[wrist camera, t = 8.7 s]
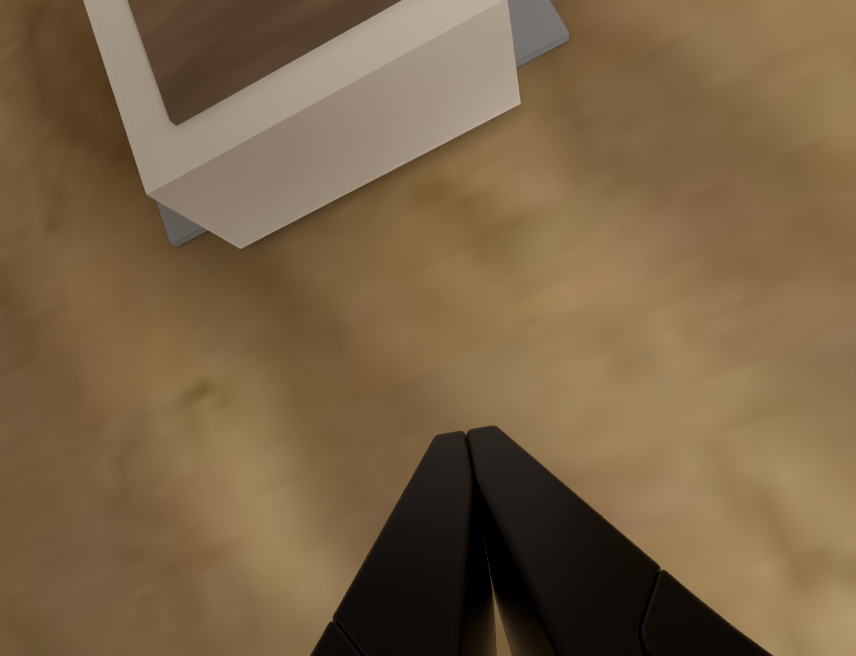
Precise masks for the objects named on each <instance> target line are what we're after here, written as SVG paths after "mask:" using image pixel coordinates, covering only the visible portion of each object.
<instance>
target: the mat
mask: <svg viewBox="0 0 856 656" xmlns="http://www.w3.org/2000/svg"><path fill="white" fill-rule="evenodd" d="M508 6H509V14H510V22H511V30H512V38H513V46H514V54H515V62H516V68H517V67H519V66H521V65H523V64H525V63H526V62H528V61H530V60H532V59H534V58H536V57H538V56H540V55H542V54H544V53H545V52H547V51H549V50H551V49H553V48H555V47H557V46H559V45H561V44H562V43H564V42H566V41H568V40H569V31H568V30H567V28H566V26H565V25H564V23H563V21H562V19H561V18H560V16H559V14H558V13H557V11H556V9H555V8H554V6H553V4H552V2H551V1H550V0H508ZM156 202H157V205H158V208H159V211H160V214H161V217H162V220H163V223H164V226H165V229H166V233H167V236H168V239H169V242H170V244H172V245H174V246H176V247H178V246H180V245H182V244H184V243H186V242H187V241H189V240H191V239H193V238H195V237H197V236H199V235H201V234H203V233H205V232H206V231H208V230H207V229H205V228H203V227H201V226H200V225H198V224H196V223H194V222H193V221H191V220H189V219H187V218H186V217H184V216H182V215H181V214H179V213H177V212H175V211H174V210H172V209H170V208H168V207H167V206H165V205H163V204H161V203H160V202H158V201H156Z"/></svg>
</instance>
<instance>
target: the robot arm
mask: <svg viewBox="0 0 856 656" xmlns="http://www.w3.org/2000/svg"><path fill="white" fill-rule="evenodd" d="M467 440H468V442H467ZM468 447H469V448H468ZM483 534H484V535H483ZM484 540H485V541H484ZM485 546H486V547H485ZM486 552H487V553H486ZM487 558H488V559H487ZM488 563H489V565H488ZM489 569H490V571H489ZM490 575H491V577H490ZM491 580H492V584H491ZM492 585H493V590H494V595H495V599H496V603H497V606H498V610H499V614H500V617H501V620H502V624H503V627H504V630H505V633H506V637H507V640H508V643H509V647H510V650H511V653H512V656H773V655H772V654H770V653H769V652H767V651H766V650H765V649H763V648H762V647H761V646H759V645H758V644H757V643H755V642H754V641H752V640H751V639H750V638H748V637H747V636H746V635H744V634H743V633H742V632H740V631H739V630H737V629H736V628H735V627H733V626H732V625H731V624H730V623H728V622H727V621H726V620H725V619H724V618H722V617H721V616H720V615H719V614H717V613H716V612H715V611H714V610H712V609H711V608H710V607H709V606H707V605H706V604H705V603H704V602H703V601H701V600H700V599H699V598H698V597H696V596H695V595H694V594H693V593H691V592H690V591H689V590H688V589H687V588H686V587H684V586H683V585H682V584H681V583H680V582H679V581H677V580H676V579H675V578H674V577H673V576H672V575H670V574H669V573H668V572H667V571H665V570H661V568H660V566H659V565H658V564H657V563H656V562H655V561H654V560H653V559H651V558H650V557H649V556H648V555H647V554H646V553H644V552H643V551H642V550H641V549H640V548H639V547H637V546H636V545H635V544H634V543H633V542H632V541H630V540H629V539H628V538H627V537H626V536H625V535H623V534H622V533H621V532H620V531H619V530H617V529H616V528H615V527H614V526H613V525H612V524H610V523H609V522H608V521H607V520H606V519H605V518H603V517H602V516H601V515H600V514H599V513H598V512H596V511H595V510H594V509H593V508H592V507H591V506H589V505H588V504H587V503H586V502H585V501H584V500H582V499H581V498H580V497H579V496H578V495H577V494H575V493H574V492H573V491H572V490H571V489H570V488H568V487H567V486H566V485H565V484H564V483H563V482H561V481H560V480H559V479H558V478H557V477H556V476H554V475H553V474H552V473H551V472H550V471H549V470H547V469H546V468H545V467H544V466H543V465H542V464H540V463H539V462H538V461H537V460H536V459H535V458H533V457H532V456H531V455H530V454H529V453H528V452H526V451H525V450H524V449H523V448H522V447H521V446H519V445H518V444H517V443H516V442H515V441H514V440H512V439H511V438H510V437H509V436H508V435H507V434H505V433H504V432H503V431H502V430H501V429H500V428H498V427H497V426H487V427H481V428H475V429H470V430H469V431H468V432H467V437H466V434H465V433H464V432H463V431H457V432H451V433H444V434H439V435H436V436H435V437H434V439H433V441H432V442H431V444H430V446H429V448H428V449H427V451H426V453H425V455H424V456H423V458H422V460H421V462H420V463H419V465H418V467H417V469H416V471H415V472H414V474H413V476H412V478H411V479H410V481H409V483H408V485H407V486H406V488H405V490H404V492H403V494H402V495H401V497H400V499H399V501H398V502H397V504H396V506H395V508H394V509H393V511H392V513H391V515H390V516H389V518H388V520H387V522H386V524H385V525H384V527H383V529H382V531H381V532H380V534H379V536H378V538H377V539H376V541H375V543H374V545H373V547H372V548H371V550H370V552H369V554H368V555H367V557H366V559H365V561H364V562H363V564H362V566H361V568H360V570H359V571H358V573H357V575H356V577H355V578H354V580H353V582H352V584H351V585H350V587H349V589H348V591H347V592H346V594H345V596H344V598H343V600H342V601H341V603H340V605H339V607H338V608H337V610H336V612H335V614H334V615H333V621H332V622H330V623H329V624H328V625H327V627H326V629H325V631H324V632H323V634H322V636H321V638H320V640H319V641H318V643H317V645H316V647H315V648H314V650H313V652H312V653H311V655H310V656H497V653H496V632H495V613H494V600H493V591H492Z"/></svg>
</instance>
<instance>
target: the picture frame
mask: <svg viewBox="0 0 856 656" xmlns="http://www.w3.org/2000/svg"><path fill="white" fill-rule="evenodd" d="M83 1H84V4H85V7H86V10H87V13H88V16H89V19H90V22H91V25H92V28H93V32H94V35H95V38H96V41H97V44H98V47H99V50H100V53H101V56H102V59H103V62H104V66H105V69H106V72H107V75H108V78H109V81H110V84H111V87H112V90H113V93H114V96H115V99H116V103H117V106H118V109H119V112H120V115H121V118H122V121H123V124H124V127H125V130H126V133H127V137H128V140H129V143H130V146H131V149H132V152H133V155H134V158H135V161H136V164H137V167H138V170H139V174H140V177H141V180H142V183H143V186H144V189H145V192H146V195H148V196H149V197H151V198H153V199H154V200H156V201H158V202H160V203H161V204H163V205H165V206H167V207H168V208H170V209H172V210H174V211H175V212H177V213H179V214H181V215H182V216H184V217H186V218H187V219H189V220H191V221H193V222H194V223H196V224H198V225H200V226H201V227H203V228H205V229H207V230H208V231H210V232H212V233H214V234H215V235H217V236H219V237H221V238H222V239H224V240H226V241H227V242H229V243H231V244H233V245H234V246H236V247H238V248H240V249H242V248H244V247H246V246H247V245H249V244H251V243H253V242H255V241H257V240H259V239H261V238H263V237H265V236H267V235H269V234H271V233H273V232H274V231H276V230H278V229H280V228H282V227H284V226H286V225H288V224H290V223H292V222H294V221H296V220H298V219H299V218H301V217H303V216H305V215H307V214H309V213H311V212H313V211H315V210H317V209H319V208H321V207H323V206H325V205H326V204H328V203H330V202H332V201H334V200H336V199H338V198H340V197H342V196H344V195H346V194H348V193H350V192H352V191H353V190H355V189H357V188H359V187H361V186H363V185H365V184H367V183H369V182H371V181H373V180H375V179H377V178H379V177H380V176H382V175H384V174H386V173H388V172H390V171H392V170H394V169H396V168H398V167H400V166H402V165H404V164H405V163H407V162H409V161H411V160H413V159H415V158H417V157H419V156H421V155H423V154H425V153H427V152H429V151H431V150H432V149H434V148H436V147H438V146H440V145H442V144H444V143H446V142H448V141H450V140H452V139H454V138H456V137H458V136H459V135H461V134H463V133H465V132H467V131H469V130H471V129H473V128H475V127H477V126H479V125H481V124H483V123H485V122H486V121H488V120H490V119H492V118H494V117H496V116H498V115H500V114H502V113H504V112H506V111H508V110H510V109H511V108H513V107H515V106H517V105H519V104H521V102H520V94H519V86H518V78H517V70H516V62H515V54H514V46H513V38H512V30H511V22H510V14H509V6H508V0H83Z"/></svg>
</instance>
